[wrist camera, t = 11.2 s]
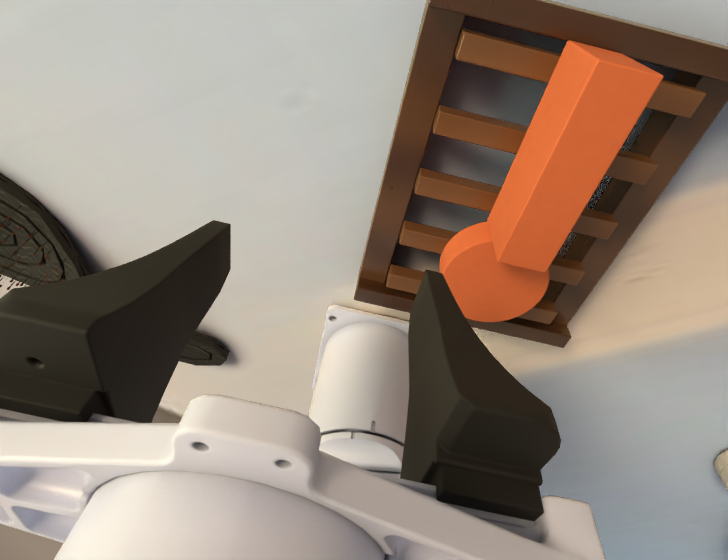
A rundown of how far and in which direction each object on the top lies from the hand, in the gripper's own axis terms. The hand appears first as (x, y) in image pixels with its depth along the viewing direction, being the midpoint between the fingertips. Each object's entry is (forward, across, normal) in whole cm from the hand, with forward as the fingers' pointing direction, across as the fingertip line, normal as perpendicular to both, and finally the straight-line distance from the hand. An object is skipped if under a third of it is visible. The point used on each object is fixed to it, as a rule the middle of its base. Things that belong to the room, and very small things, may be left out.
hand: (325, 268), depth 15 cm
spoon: (+7, -8, -1) cm, 10 cm away
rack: (+9, -8, -1) cm, 12 cm away
